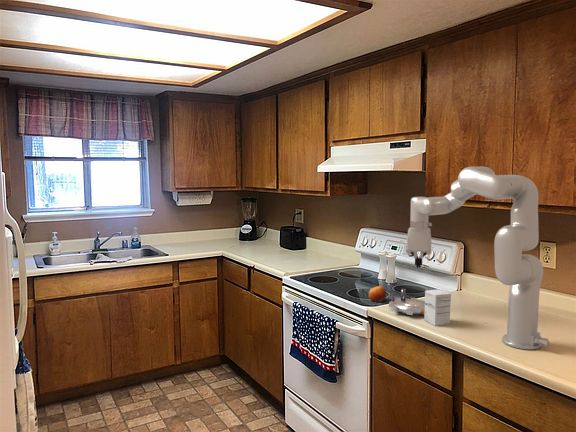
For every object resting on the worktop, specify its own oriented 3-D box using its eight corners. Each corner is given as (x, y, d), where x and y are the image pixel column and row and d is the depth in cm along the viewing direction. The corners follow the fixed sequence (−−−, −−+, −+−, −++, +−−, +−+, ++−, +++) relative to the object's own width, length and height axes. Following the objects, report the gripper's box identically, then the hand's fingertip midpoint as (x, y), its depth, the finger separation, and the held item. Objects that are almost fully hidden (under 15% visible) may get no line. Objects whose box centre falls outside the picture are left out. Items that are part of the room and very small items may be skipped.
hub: (428, 312, 200) (428, 309, 200) (414, 316, 194) (414, 314, 194) (409, 306, 208) (409, 304, 208) (395, 311, 202) (395, 308, 201)
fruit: (386, 301, 212) (377, 285, 213) (372, 308, 216) (363, 292, 217) (391, 297, 219) (383, 281, 220) (378, 303, 223) (369, 288, 224)
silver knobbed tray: (415, 299, 213) (415, 285, 213) (445, 311, 196) (445, 295, 195) (380, 305, 206) (380, 289, 205) (408, 317, 188) (408, 301, 187)
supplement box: (423, 320, 189) (424, 290, 188) (439, 318, 191) (439, 288, 190) (434, 326, 182) (435, 295, 181) (450, 324, 184) (451, 293, 183)
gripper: (437, 224, 202) (436, 266, 204) (402, 223, 207) (402, 264, 209) (436, 226, 195) (435, 269, 197) (400, 225, 200) (400, 267, 202)
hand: (418, 266), depth 203 cm, fingers closed
